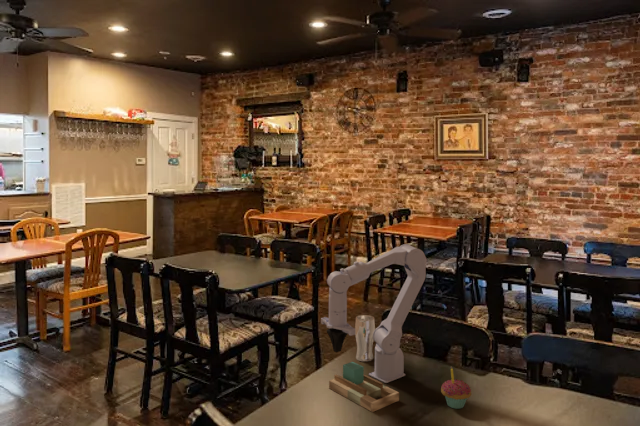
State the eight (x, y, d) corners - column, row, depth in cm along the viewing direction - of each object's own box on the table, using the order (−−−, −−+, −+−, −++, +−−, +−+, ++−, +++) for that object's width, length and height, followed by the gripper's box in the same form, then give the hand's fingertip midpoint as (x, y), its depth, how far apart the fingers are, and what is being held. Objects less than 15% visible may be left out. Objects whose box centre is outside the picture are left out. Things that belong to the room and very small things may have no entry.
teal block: (352, 376, 161) (352, 361, 160) (363, 382, 157) (363, 366, 157) (342, 380, 159) (343, 364, 158) (353, 385, 155) (354, 370, 154)
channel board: (355, 378, 165) (355, 366, 165) (398, 400, 151) (399, 387, 150) (329, 388, 159) (329, 376, 158) (372, 412, 144) (372, 398, 143)
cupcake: (454, 414, 143) (455, 373, 141) (434, 401, 150) (435, 362, 149) (477, 407, 147) (478, 367, 145) (456, 395, 154) (457, 357, 153)
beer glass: (373, 363, 178) (374, 321, 176) (353, 361, 179) (354, 320, 178) (375, 355, 185) (375, 315, 183) (356, 354, 186) (356, 314, 184)
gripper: (313, 306, 164) (313, 347, 166) (343, 317, 153) (343, 361, 155) (330, 302, 169) (330, 342, 170) (360, 313, 158) (360, 355, 159)
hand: (337, 351), depth 163 cm, fingers closed
